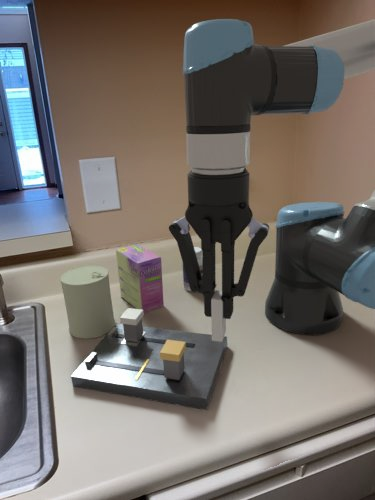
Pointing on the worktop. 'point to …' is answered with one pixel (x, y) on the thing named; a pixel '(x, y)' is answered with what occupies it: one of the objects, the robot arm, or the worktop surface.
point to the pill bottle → (199, 259)
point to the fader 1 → (132, 324)
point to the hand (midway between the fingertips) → (218, 335)
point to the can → (88, 301)
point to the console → (153, 367)
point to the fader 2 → (173, 359)
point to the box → (140, 277)
